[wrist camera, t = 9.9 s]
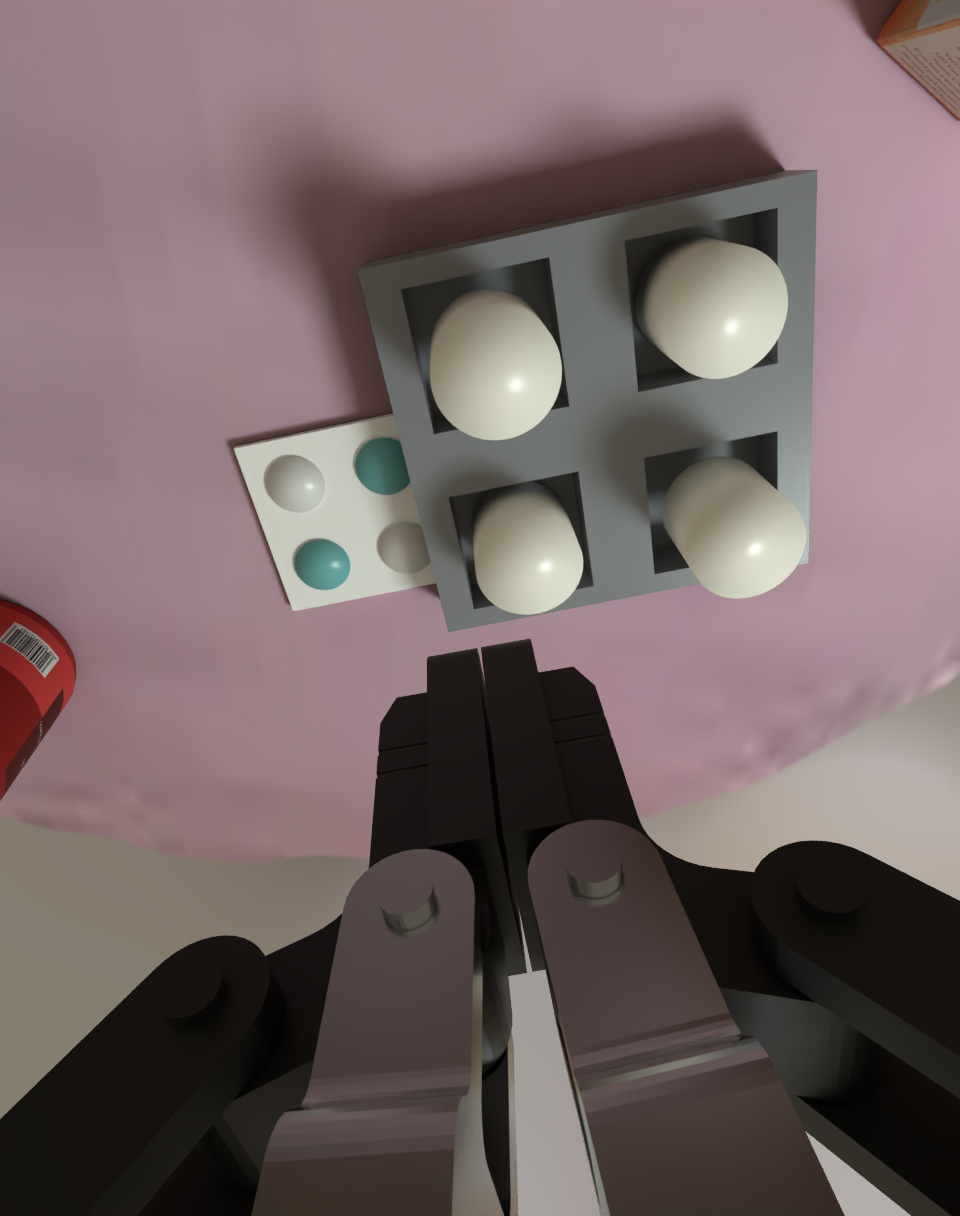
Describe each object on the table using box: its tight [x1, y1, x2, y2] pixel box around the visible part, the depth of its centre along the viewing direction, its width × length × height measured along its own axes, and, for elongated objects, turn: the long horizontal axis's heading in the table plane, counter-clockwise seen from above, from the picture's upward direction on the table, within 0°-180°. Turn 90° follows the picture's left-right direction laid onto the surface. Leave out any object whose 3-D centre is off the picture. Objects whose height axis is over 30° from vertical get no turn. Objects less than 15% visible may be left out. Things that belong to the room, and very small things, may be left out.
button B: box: [635, 236, 788, 379], centre depth 31 cm, size 5×5×5 cm
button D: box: [662, 456, 806, 598], centre depth 34 cm, size 5×5×5 cm
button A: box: [430, 288, 562, 440], centre depth 30 cm, size 5×5×5 cm
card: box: [234, 413, 436, 611], centre depth 38 cm, size 9×9×1 cm
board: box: [357, 170, 817, 632], centre depth 35 cm, size 18×17×3 cm
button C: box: [471, 481, 583, 615], centre depth 36 cm, size 5×5×5 cm
